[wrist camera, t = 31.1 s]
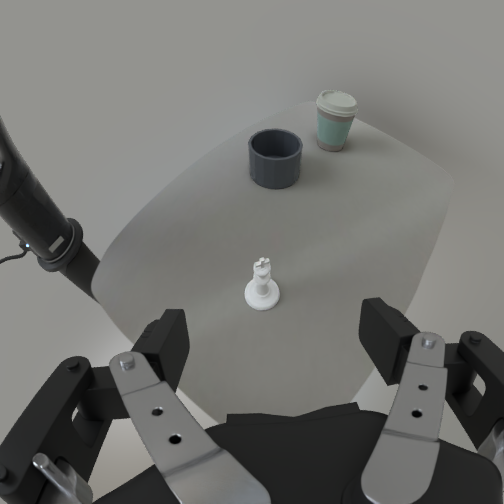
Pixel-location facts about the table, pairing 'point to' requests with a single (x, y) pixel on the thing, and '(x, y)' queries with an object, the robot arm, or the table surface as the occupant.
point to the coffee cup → (334, 118)
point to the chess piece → (262, 287)
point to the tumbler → (275, 158)
